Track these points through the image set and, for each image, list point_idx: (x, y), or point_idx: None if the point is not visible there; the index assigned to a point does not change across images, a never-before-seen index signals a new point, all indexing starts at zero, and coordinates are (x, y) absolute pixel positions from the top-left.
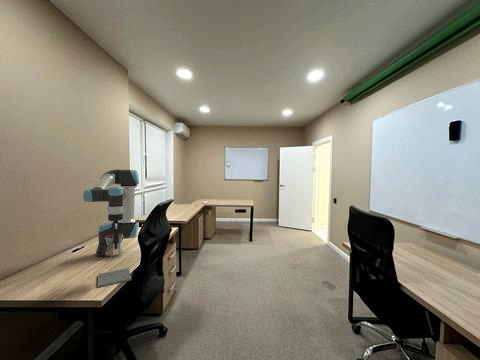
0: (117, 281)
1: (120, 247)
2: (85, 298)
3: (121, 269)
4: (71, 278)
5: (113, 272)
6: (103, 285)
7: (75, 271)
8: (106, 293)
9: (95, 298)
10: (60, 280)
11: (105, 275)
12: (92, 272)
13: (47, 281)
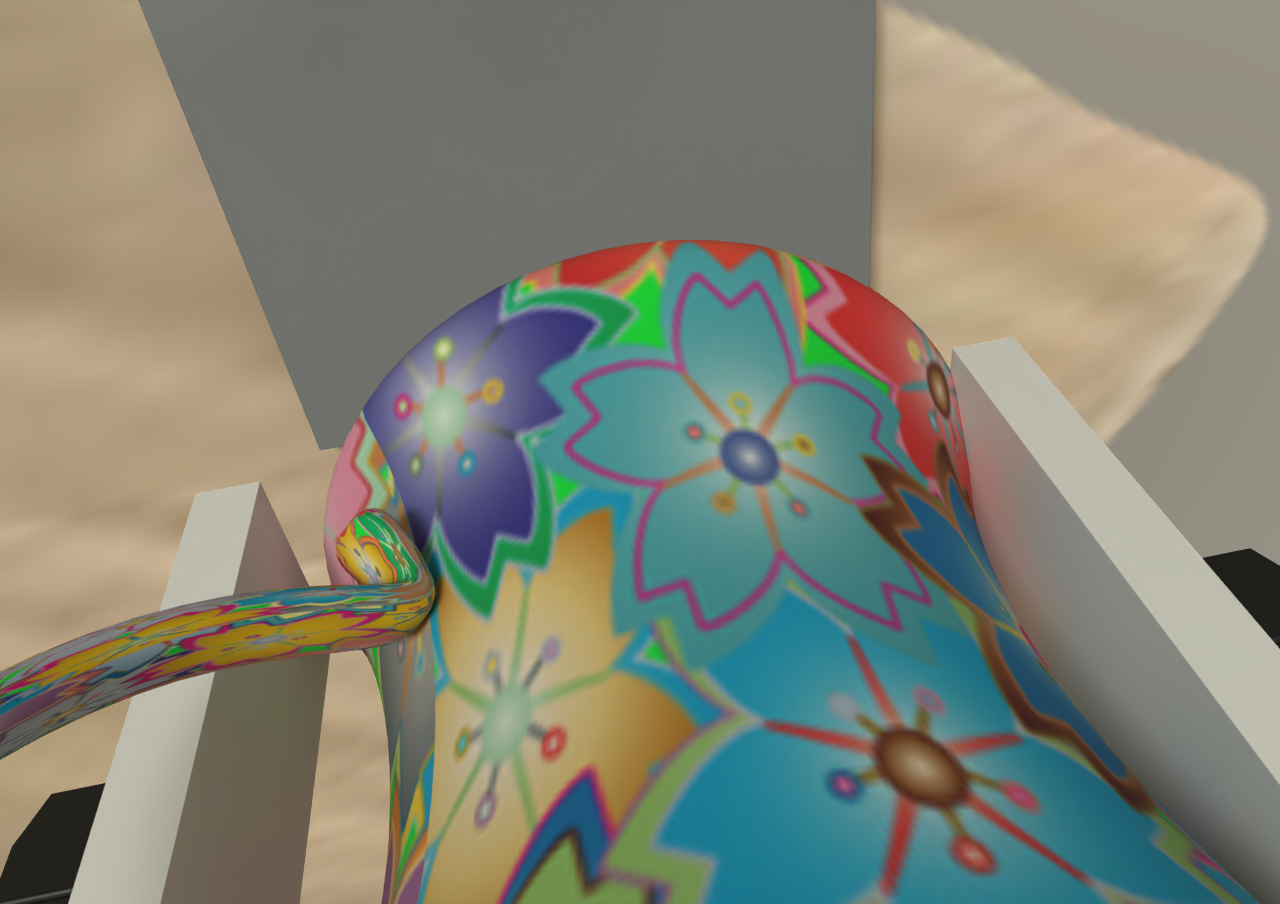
0: (873, 21)
1: (748, 441)
2: (1111, 404)
3: (140, 5)
4: (334, 726)
5: (314, 182)
6: (865, 260)
7: (51, 765)
8: (1164, 154)
9: (1210, 282)
10: (367, 802)
11: (443, 315)
12: (137, 551)
13: (356, 888)
